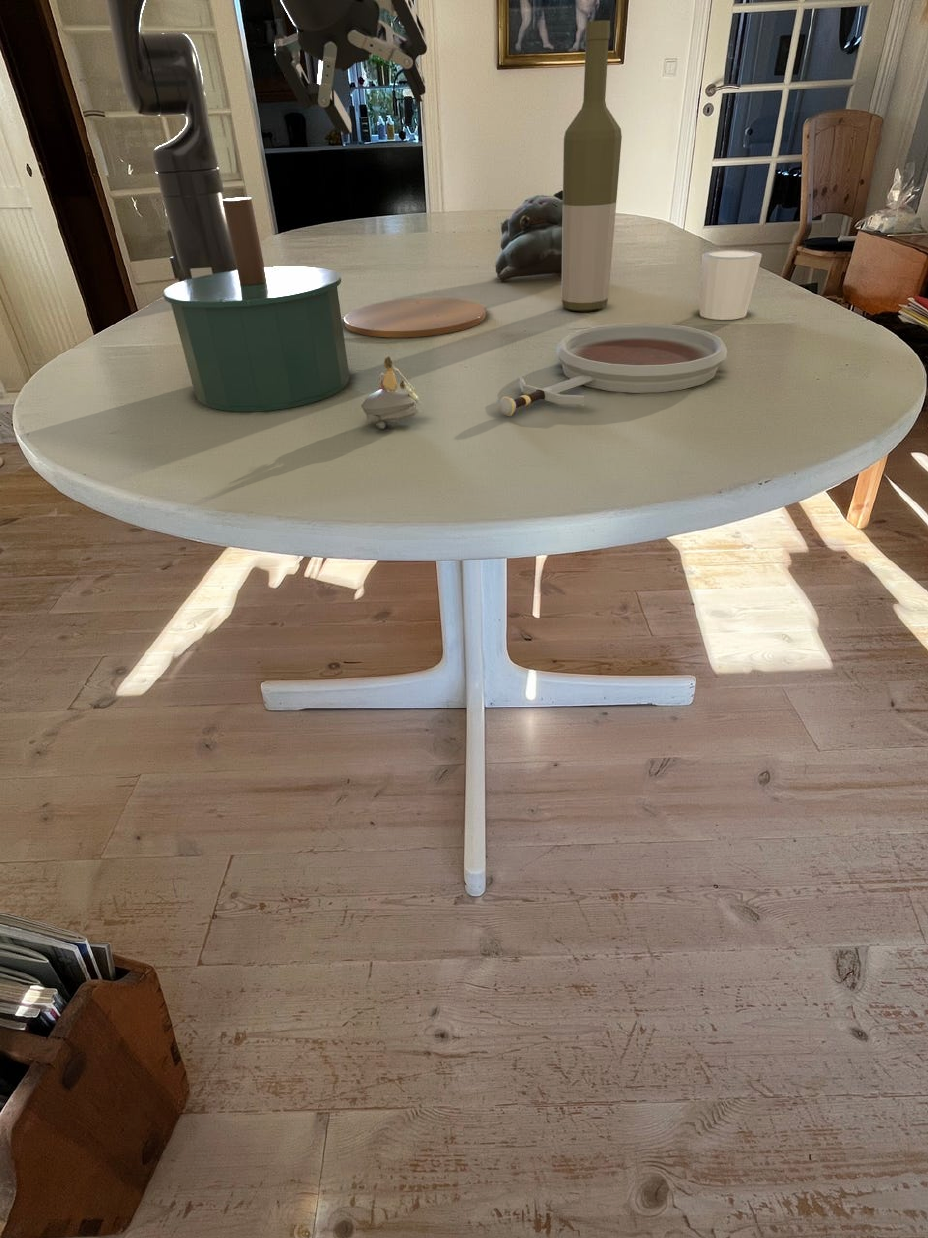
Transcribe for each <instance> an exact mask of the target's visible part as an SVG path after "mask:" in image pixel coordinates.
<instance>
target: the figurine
mask: <svg viewBox="0 0 928 1238" xmlns="http://www.w3.org/2000/svg"><path fill="white" fill-rule="evenodd" d="M392 361H393V360H392V358H391V356H386V357H385V358H384V361H383V368H384V370H385V373H384V372H381V373H380V374H379V376H378V386H379V388H378V390H377V391H374V392H373V393H371V394H369V395H367V396H366V397H365V398H364V399H365V400H364V401H363V402H362V404H361V405H360V406H361V409H362V411H363V413H364V414H365V415H366V420H368V421H371V422H373V423H375V426H376V427H377V428H378V429H380V430H383V429H385V428H386V424H388V425H389V424H390V425H396V424H397V423H398V422H399V421H402V420H405V419H409V418H412V417H414V416H416V415H418V414H419V413H420V408H419V407H418V405H422V403H421V401H419V396H418V394H416V393H415V387H414V386H413V385H411V384H410V383H409V381H408V380H407V378H406V377H405V376H404V375H403V374H402V373H401V371H400V369H399V368H398V367H396V366H395V365H394V364H393V363H392ZM397 371H398V373H399V375H401V377H402V378H403V379H404V380H401V381H400V383H399V387H400V389H401V390H402V391H403V390H405V389H406V392H407V393H406V392H401V391H397V390H398V382H397V378H396V375H395V372H397ZM405 381H406V382H405Z"/></svg>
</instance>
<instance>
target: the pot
mask: <svg viewBox="0 0 928 1238" xmlns="http://www.w3.org/2000/svg"><path fill="white" fill-rule="evenodd" d="M339 297H340V296H339V291H338V286H337V287H336V288H334V289H332V290H329V291H327V292H324V293H321V294H318V295H314V296H310V297H306V298H302V299H297V300H292V301H286V302H280V303H273V304H265V305H256V306H245V307H228V308H197V307H186V306H179V305H174V304H171V303H170V305H171V309H172V312H173V317H174V320H175V324H176V327H177V331H178V335H179V339H180V343H181V346H182V350H183V353H184V358H185V361H186V364H187V368H188V372H189V377H190V380H191V384H192V387H193V392H194V395H195V396H196V398H197V400H198V402H200V404H201V405H204V406H206V407H207V408H211V409H215V410H220V411H224V412H225V411H226V412H237V413H250V412H251V413H256V412H270V411H277V410H278V411H279V410H285V409H291V408H297V407H301V406H305V405H309V404H314V403H316V402H319V401H322V400H325V399H327V398H329V397H332V396H333V395H336V394H338V393H339V392H340V391H342V390H343V389H344V388H346V387H347V385H348V383H349V380H350V371H349V364H348V355H347V350H346V341H345V334H344V326H343V320H342V313H341V305H340V299H339Z"/></svg>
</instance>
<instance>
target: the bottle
mask: <svg viewBox="0 0 928 1238" xmlns="http://www.w3.org/2000/svg"><path fill="white" fill-rule="evenodd" d="M584 30H585V33H584V42H585V51H584V52H585V53H584V77H583V99H582V100H583V101H582V105H581V108H580V110H579V111H578V113H577V114H576V115H575V117H574V119H573V120H572V121H571V122H570V124H569V126H568V127H567V129H566V130H565V131H564V137H563V156H562V157H563V158H562V159H563V160H562V161H563V165H562V190H563V220H562V274H561V303H562V307H563V308H565V309H568V310H570V311H572V312H593V311H597V310H599V309H602V308H604V307H606V306H607V305H608V301H609V295H610V294H609V292H610V283H611V282H610V281H611V270H612V259H613V246H614V234H615V223H616V212H617V211H616V210H617V201H618V200H617V199H618V188H619V174H620V164H621V163H620V162H621V152H622V151H621V150H622V138H623V137H622V136H623V135H622V128H621V127H620V125H619V123H618V122H617V121H616V119H615V117H614V116H613V115H612V113H611V112H610V110H609V109H608V107H607V103H606V94H607V93H606V92H607V77H608V75H607V74H608V57H609V42H610V41H609V40H610V37H611V20H591V21H587V22H585V29H584Z"/></svg>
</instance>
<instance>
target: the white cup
mask: <svg viewBox="0 0 928 1238" xmlns="http://www.w3.org/2000/svg"><path fill="white" fill-rule="evenodd" d="M762 256H763V254H762V253H761V252H759V251H754V250H748V249H747V250H746V249H718V250H711V251H706V252H705V253H702V257H701V258H702V260H701V276H700V277H701V280H700V297H699V299H700V300H699V317H702V318H705V319H710V320H716V321H717V320H719V321H720V320H721V321H731V320H739V319H743V318H745V317H747V313H748V309H749V305H750V302H751V298H752V294H753V291H754V286H755V283H756V279H757V276H758V271H759V268H760V263H761V260H762V258H763V257H762Z"/></svg>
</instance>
